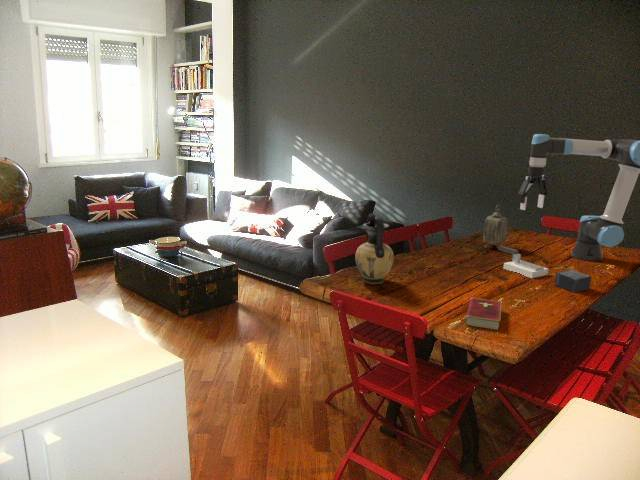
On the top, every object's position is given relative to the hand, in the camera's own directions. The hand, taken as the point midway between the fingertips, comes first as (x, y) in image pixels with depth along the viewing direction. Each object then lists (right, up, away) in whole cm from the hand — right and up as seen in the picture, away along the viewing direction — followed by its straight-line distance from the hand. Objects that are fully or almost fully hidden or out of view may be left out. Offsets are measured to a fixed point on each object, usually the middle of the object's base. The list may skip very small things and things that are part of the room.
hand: (531, 208), depth 269 cm
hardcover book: (-44, -46, -66) cm, 91 cm away
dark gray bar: (-8, -27, -4) cm, 29 cm away
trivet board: (-6, -31, -7) cm, 33 cm away
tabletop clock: (-7, -20, +37) cm, 42 cm away
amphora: (-82, -34, -28) cm, 94 cm away
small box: (+5, -33, -24) cm, 41 cm away
